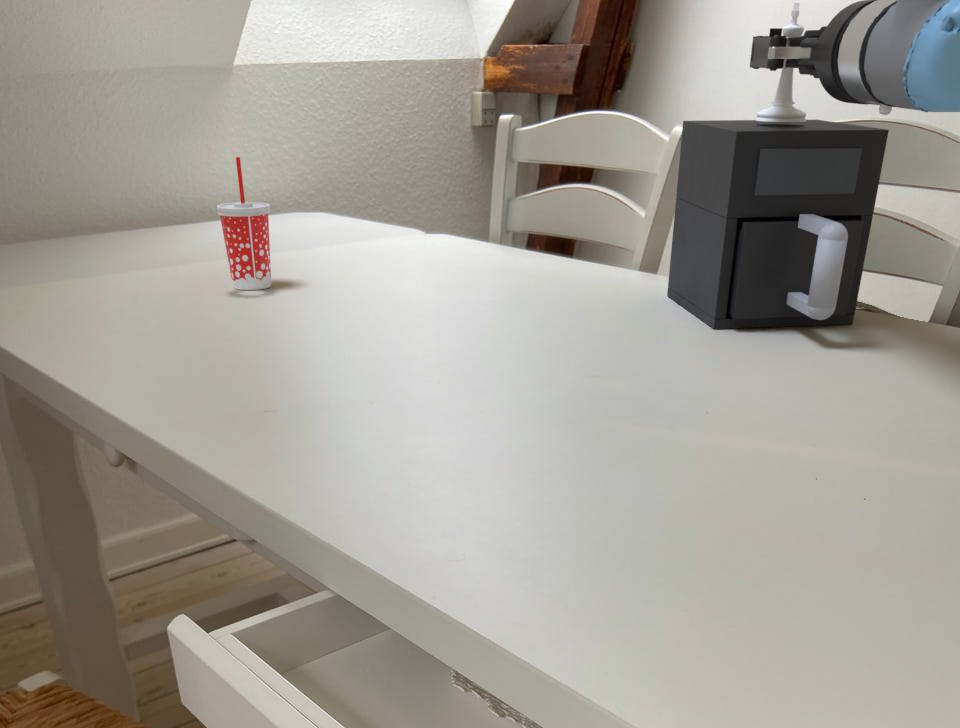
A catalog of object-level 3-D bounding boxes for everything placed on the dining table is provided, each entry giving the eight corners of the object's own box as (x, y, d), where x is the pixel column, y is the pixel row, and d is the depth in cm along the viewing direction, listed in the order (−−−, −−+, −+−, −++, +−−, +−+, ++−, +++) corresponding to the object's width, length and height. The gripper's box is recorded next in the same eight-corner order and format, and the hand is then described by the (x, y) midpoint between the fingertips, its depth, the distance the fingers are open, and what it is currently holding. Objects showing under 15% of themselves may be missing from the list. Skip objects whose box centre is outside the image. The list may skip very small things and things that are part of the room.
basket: (882, 333, 95) (904, 223, 90) (762, 338, 94) (777, 226, 89) (785, 284, 115) (799, 192, 110) (684, 287, 114) (694, 194, 109)
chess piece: (809, 120, 101) (827, 3, 96) (801, 123, 97) (819, 1, 92) (760, 119, 103) (775, 4, 98) (750, 122, 99) (765, 2, 94)
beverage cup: (273, 279, 124) (260, 154, 117) (282, 289, 119) (269, 158, 112) (222, 283, 122) (206, 155, 115) (230, 292, 117) (214, 160, 110)
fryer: (854, 325, 103) (890, 129, 94) (714, 330, 101) (737, 131, 92) (790, 292, 117) (817, 119, 108) (666, 296, 115) (683, 120, 106)
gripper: (782, 105, 83) (692, 94, 103) (954, 104, 85) (832, 93, 105) (797, -3, 79) (700, 8, 99) (976, -2, 81) (845, 8, 101)
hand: (768, 52), depth 102 cm, fingers closed on chess piece, 2 cm apart
